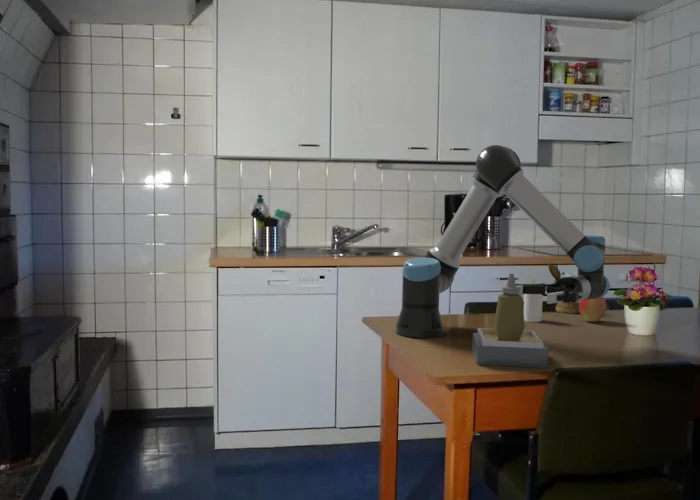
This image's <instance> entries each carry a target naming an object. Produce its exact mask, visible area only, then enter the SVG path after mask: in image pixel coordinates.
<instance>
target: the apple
mask: <svg viewBox="0 0 700 500" xmlns="http://www.w3.org/2000/svg"><path fill="white" fill-rule="evenodd" d="M579 311H580V313H579V314H580V315H581V317H582V318H583V319H584V320H585V321H586V322H589V323H595V322H599V321H600V320H601V319H603V318H604V316H605V314H606V312H607V302H606V300H605V298H604V296H602V297H600V298H597V299H587V300H581V301H579Z"/></svg>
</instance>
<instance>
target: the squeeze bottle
mask: <svg viewBox="0 0 700 500" xmlns="http://www.w3.org/2000/svg"><path fill="white" fill-rule="evenodd" d="M516 284H517V283H516V279H515V274H514V273H509V274H508V278H507V281H506V285H505V286H502V287H501V294H499V295H498V297H497V301H496V302H497V304H496V309H495V317H494V323H493V324H494V325H493V326H494V329H495V330H496V334H497V337H498V339H500V340H504V341H518V340H520V338H521V335H522V333H523V330H525V320H524V296H523V295H521V296H520V295H518V294H519V293H520V288H519V287H516Z"/></svg>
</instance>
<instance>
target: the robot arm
mask: <svg viewBox="0 0 700 500" xmlns="http://www.w3.org/2000/svg"><path fill="white" fill-rule="evenodd" d="M475 168H476V170H475V171H474V173H473V174H472V176H471V179H472V186H471V187H470V189H469V191H468V192H467V194H466V195H465V197H464V199H463V200H462V202H461V204H460V205H459V207H458V209H457V211H456V212H455V214H454V215H453V218H452V219H451V221H450V223H449V224H448V226H447V227H446V229H445V231H444V233H443V234H442V236H441V238H440V239H439V241H438V242H437V244H436V246H434V247H430V248H429V249H428V251H427V252H426V253H425V255H424V257H423V256H422V257H415V258H414V257H412V258H409V259H407V260H406V261H405V262H403V268H402V272H401V273H402V296H401V298H402V299H401V300H402V303H401V310H400V312H399V315H398V319H397V321H396V323H395V333H396V334H398V335H401V336H404V337H409V338H421V339H422V338H423V339H425V338H426V339H429V338H438V337H441V336H443V335H444V334H445V333H444V324H443V320H442V316H441V313H440V294H441V293H444V292H446V291H447V290H449V289H450V287H451V286H452V285H453V282H454V279H455V275H456V273H457V272H458V270H459V268H460V266H461V265H460V262H459V260H460V258H461V257H462V255H463V253H464V252H465V251H466V249H467V246H468V245H469V244H470V242H471V240H472V239H473V237H474V235H475V234H476V232H477V230H478V229H479V227H480V226H481V224H482V222H483V221H484V219H485V218H486V216H487V214H488V212H489V211H490V210H491V207H492V206H493V204H494V203H495V200H496V199H498V198H499V197H503V196H504V195H505V196H506V197H508V199H510V200H511V201H512V202H513V204H514V205H516V206H517V208H519V209H520V210H521V211H522V212H523V213H524V214H525V215H526V216H527V217H528V218H529V219H530V221H531V222H533V223H534V224H535V225H536V226H537V227H538V228H539V229H540V230H541V231H542V232H543V233H544V234H545V235H546V236H547V237H548V238H549V239H550V240H551V241H552V242H554V244H556V246H557V247H559V248H560V249H561V251H563V253H565V254H566V255H567V256H568V258H569V259H571V261H572V262H573V263H574V265H575V267H576V268H577V275H572V276H570V275H569V276H564V277H560V279H558V280H557V281H556V283H554V282H551V283H544V282H543V283H535V284H532V283H515V284H516V287H519V288H520V293H519V294H518V295H520V296H524V294H542V295H543V297H546V304H549V305H551V304H557V303H558V302H563V303H569V302H573V303H578V301H579V302H580V301H581V300H587V299H597V298H600V297H604V296H606V295H607V294H608V293H609V290H610V282H609V280H608V277H607V276H606V275H605V271H604V269H605V256H606V238H605V236H602V235H594V234H593V235H591V234H590V235H588V234H585V233H583V232H582V231H581V230H580V229H579V228H578V226H576V225H575V224H574V223H573V222H572V221H571V220H570V219H569V218H567V216H565V215H564V214H563V213H562V212H561V210H559V208H557V207H556V206H555V205H554V204H553V203H552V202H551V200H549V199H548V198H547V197H546V196H545V195H544V194H543V193H542V192H541V191H540V190H539V189H538V188H537V187H536V186H535V185H534V184H533V183H532V182H531V181H529V179H527V177H526V176H525V175H524V170H523V169H522V164H521V159H520V157H519V155H518V154H517V153H516V152H515V151H514V150H513V149H512V148H510V147H506V146H503V145H499V144H498V145H497V144H494V145H493V144H491V145H489V146H486V147H484V149H482V150H481V151H480V153H479V154H478V156H477V157H476V161H475Z"/></svg>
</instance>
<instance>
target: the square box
mask: <svg viewBox="0 0 700 500" xmlns="http://www.w3.org/2000/svg"><path fill="white" fill-rule="evenodd" d="M476 330H477V332H473V333H472V345H471V346H472V347H471V352H472V354H473V358H474V359H475V362H476V363H475V364H476V365H478V366H479V365H480V366H499V367H500V366H501V367H519V368H520V367H521V368H524V367H525V368H538V369H539V368H540V369H541V368H542V369H547V368H548V359H549V358H548V354H549V352H548V351H549V349H548V347H547V345H545V344H544V342H543V341H542V340H541V338H540V337H539V336H538V334H537V333H536V332H535V331H534V330H533V329H532V330H528V329H526V330H525V329H524V330H523V333H522V335H521V338H520V340H518V341H504V340H500V339H498V337H497V334H496V330H495V328H484V327H483V328H482V327H481V328H480V327H477V329H476Z"/></svg>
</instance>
